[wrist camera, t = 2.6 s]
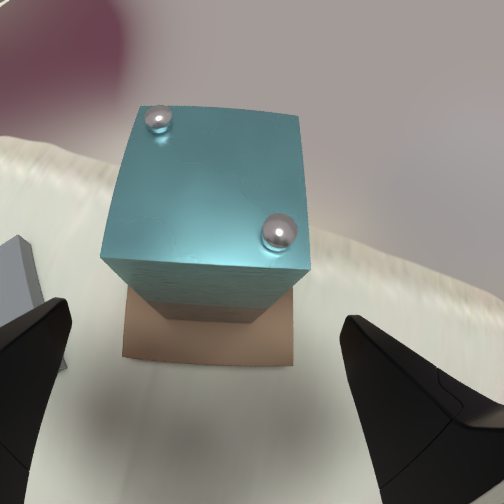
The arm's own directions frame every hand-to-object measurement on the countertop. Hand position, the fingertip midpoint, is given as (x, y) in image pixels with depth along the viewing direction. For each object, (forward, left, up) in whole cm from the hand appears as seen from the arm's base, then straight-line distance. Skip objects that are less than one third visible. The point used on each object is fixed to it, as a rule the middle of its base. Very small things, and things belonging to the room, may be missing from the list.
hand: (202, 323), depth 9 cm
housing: (+3, +1, -8) cm, 9 cm away
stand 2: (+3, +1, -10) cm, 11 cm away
